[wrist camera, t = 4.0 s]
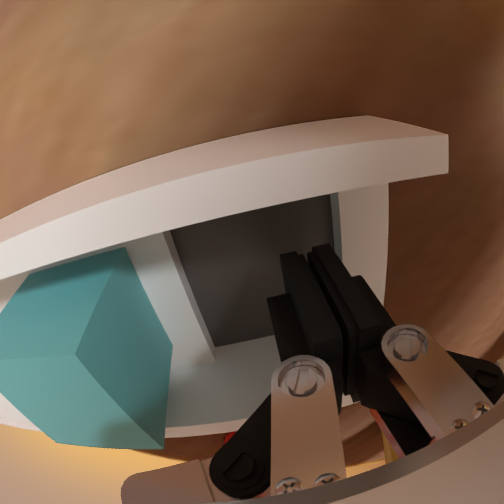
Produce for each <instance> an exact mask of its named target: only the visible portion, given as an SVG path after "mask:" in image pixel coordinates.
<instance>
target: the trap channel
mask: <svg viewBox="0 0 504 504" xmlns="http://www.w3.org/2000/svg"><path fill="white" fill-rule="evenodd" d="M448 168H449V140H448V134H444V133H441V132H437V131H434V130H430V129H426V128H423V127H419V126H415V125H411V124H407V123H402V122H398V121H393V120H389V119H384V118H379V117H374V116H369V115H366V116H355V117H346V118H337V119H328V120H321V121H313V122H306V123H300V124H294V125H287V126H282V127H276V128H270V129H265V130H260V131H255V132H250V133H245V134H240V135H236V136H231V137H227V138H223V139H218V140H214V141H210V142H206V143H202V144H198V145H194V146H191V147H187V148H183V149H180V150H176V151H173V152H169V153H166V154H162V155H159V156H156V157H152V158H149V159H146V160H143V161H140V162H137V163H134V164H131V165H128V166H125V167H122V168H119V169H116V170H113V171H110V172H108V173H105V174H102V175H100V176H97V177H94V178H92V179H89V180H86V181H84V182H81V183H79V184H76V185H74V186H71V187H69V188H67V189H64V190H62V191H59V192H57V193H55V194H53V195H50V196H48V197H46V198H44V199H41V200H39V201H37V202H35V203H33V204H31V205H28V206H26V207H24V208H22V209H20V210H18V211H16V212H14V213H12V214H10V215H8V216H6V217H4V218H2V219H0V313H1V311H2V310H3V309H4V307H5V306H6V304H7V303H8V302H9V300H10V299H11V297H12V296H13V295H14V293H15V292H16V291H17V289H18V288H19V287H20V285H21V284H22V283H23V282H24V280H25V279H26V278H27V276H28V275H29V274H32V273H35V272H38V271H42V270H45V269H48V268H52V267H55V266H58V265H62V264H65V263H69V262H72V261H75V260H79V259H82V258H86V257H89V256H93V255H96V254H100V253H104V252H107V251H111V250H115V249H118V248H122V247H125V248H126V250H127V252H128V255H129V257H130V259H131V261H132V264H133V266H134V268H135V270H136V273H137V275H138V277H139V279H140V281H141V283H142V286H143V288H144V290H145V292H146V294H147V296H148V298H149V300H150V302H151V304H152V306H153V308H154V310H155V312H156V314H157V316H158V318H159V320H160V322H161V324H162V326H163V328H164V330H165V331H166V333H167V335H168V337H169V339H170V341H171V343H172V344H173V350H172V359H171V368H170V378H169V388H168V400H167V412H166V426H165V438H175V437H189V436H200V435H210V434H219V433H226V432H233V431H237V430H238V429H239V428H240V427H241V426H242V425H243V424H244V423H245V422H246V421H247V419H248V418H249V417H250V416H251V415H252V414H253V413H254V412H255V410H256V409H257V408H258V407H259V406H260V405H261V404H262V402H263V401H264V400H265V399H266V398H267V397H268V395H269V394H270V393H271V380H272V374H273V372H274V371H275V369H276V367H277V366H278V365H280V364H281V361H280V356H279V352H278V348H277V344H276V339H275V335H274V331H273V327H272V322H271V318H270V313H269V309H268V304H267V300H266V298H269V297H273V296H278V295H282V294H286V292H285V286H284V280H283V274H282V269H281V263H280V257H279V255H280V254H284V253H288V252H292V251H296V252H297V254H298V255H299V254H303V255H304V256H305V258H306V260H307V262H308V259H307V253H308V252H311V251H312V247H314V246H318V245H322V244H327V243H329V244H330V245H331V247H332V248H333V250H334V251H335V253H336V254H337V256H338V257H339V258H340V260H341V261H342V263H343V264H344V266H345V267H346V269H347V270H348V272H349V273H350V275H351V276H352V277H353V276H356V275H361V276H362V277H363V278H364V279H365V281H366V282H367V284H368V285H369V287H370V288H371V289H372V291H373V292H374V294H375V295H376V297H377V298H378V300H379V301H380V302H381V304H382V305H384V295H385V283H386V270H387V253H388V223H389V193H388V183H390V182H396V181H402V180H408V179H414V178H420V177H426V176H433V175H439V174H446V173H448ZM358 402H360V401H358ZM355 403H357V402H355ZM351 404H354V403H353V401H352V398H351V396H350V395H347V396H345V395H344V393H343V394H342V407H345V406H348V405H351ZM0 424H5V425H9V426H13V427H18V428H23V429H29V430H35V431H41V430H40V429H39V428H38V427H37V426H35V425H34V424H33V423H32V422H31V421H30V420H29V419H27V418H26V417H25V416H24V415H23V414H22V413H21V412H20V411H19V410H18V409H16V408H15V407H14V406H13V405H12V404H11V403H10V402H9V401H8V400H7V399H6V398H5V397H4V396H3V395H2V394H1V393H0ZM41 432H43V431H41Z"/></svg>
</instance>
